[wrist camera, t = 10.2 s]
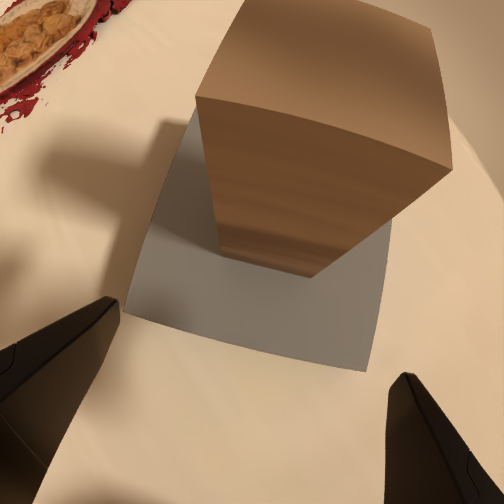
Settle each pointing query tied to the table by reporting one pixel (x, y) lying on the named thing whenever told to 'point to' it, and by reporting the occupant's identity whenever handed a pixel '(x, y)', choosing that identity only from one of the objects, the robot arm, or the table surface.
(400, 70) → the walnut block
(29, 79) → the plate with food
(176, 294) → the plate
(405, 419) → the robot arm
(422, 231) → the table surface
